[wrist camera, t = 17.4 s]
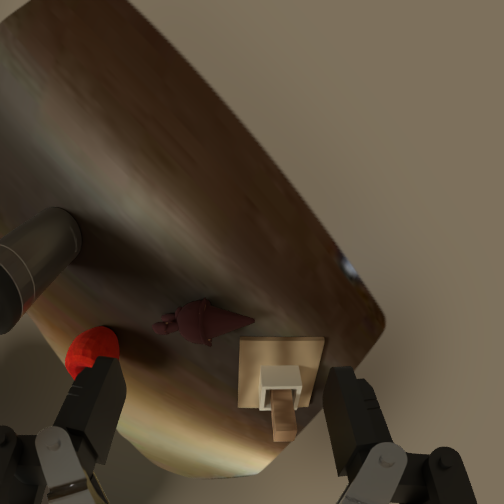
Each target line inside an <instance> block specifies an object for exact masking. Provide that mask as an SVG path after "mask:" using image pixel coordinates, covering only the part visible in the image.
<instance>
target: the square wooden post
mask: <svg viewBox="0 0 504 504" xmlns="http://www.w3.org/2000/svg"><path fill="white" fill-rule="evenodd" d="M270 401H271V413H272V425H273V437H274V442H280V441H294V440H295V436H296V433H297V426H296V419H295V412H294V405H293V399H292V392H291V389H270Z"/></svg>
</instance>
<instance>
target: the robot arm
mask: <svg viewBox="0 0 504 504" xmlns="http://www.w3.org/2000/svg"><path fill="white" fill-rule="evenodd" d="M81 245H82V236H81V232H80V229H79V226H78V224H77V223H76V221H75V219H74V218H73V217H72V216H71V215H70V214H69V213H68V212H66V211H65V210H63V209H61V208H56V207H51V208H47V209H45V210H44V211H42V212H40V213H39V214H37V215H36V216H34V217H32V218H31V219H29V220H28V221H26V222H25V223H23V224H22V225H20V226H19V227H17V228H16V229H14V230H13V231H11V232H10V233H8V234H7V235H5V236H4V237H3V238H1V239H0V335H2V334H5V333H7V332H9V331H10V330H11V329H12V328H13V327H14V326H15V325H16V323H17V322H18V321H19V320H20V318H21V317H22V316H23V315H24V314H25V313H26V311H27V310H28V309H29V308H30V307H31V305H32V304H33V303H34V302H35V301H36V300H37V298H38V297H39V296H40V295H41V294H42V293H43V292H44V291H45V289H46V288H47V287H48V286H49V285H50V284H51V283H52V282H53V281H54V280H55V279H56V277H57V276H58V275H59V274H60V273H61V272H62V271H63V270H64V269H65V268H66V267H67V266H68V265H69V264H70V263H71V262H72V261H73V260H74V259H75V258H76V257H77V255H78V254H79V252H80V249H81ZM125 399H126V383H125V380H124V377H123V373H122V370H121V366H120V363H119V360H118V359H117V358H113V357H106V356H98V357H97V358H96V360H95V362H94V364H93V366H92V368H91V367H85V368H84V369H83V370H82V371H81V372H80V373H79V374H78V375H77V376H76V378H75V380H74V382H73V384H72V387H71V388H70V390H69V392H68V395H67V397H66V399H65V401H64V403H63V405H62V407H61V409H60V411H59V414H58V416H57V418H56V420H55V422H54V424H53V426H50V427H47V428H44V429H43V430H41V431H40V432H39V433H38V435H17V434H16V433H15V432H14V431H13V429H11V428H10V427H8V426H0V504H41V502H42V498H43V494H44V490H45V487H46V485H48V487H49V491H50V493H48V494H47V499H48V502H49V504H110V502H109V500H108V499H107V497H106V495H105V493H104V491H103V489H102V487H101V485H100V483H99V481H98V479H97V477H96V475H95V473H94V471H93V470H94V466H95V463H99V464H103V465H105V463H106V460H107V456H108V453H109V450H110V446H111V443H112V439H113V436H114V433H115V430H116V427H117V424H118V420H119V417H120V414H121V411H122V408H123V405H124V402H125ZM323 409H324V413H325V418H326V422H327V427H328V431H329V435H330V440H331V445H332V449H333V454H334V459H335V464H336V469H337V473H338V477H339V476H348V480H349V483H348V485H347V486H346V488H345V490H344V491H343V493H342V494H341V496H340V498H339V499H338V501H337V502H336V504H389V503H390V502H392V503H399V504H477V501H476V498H475V495H474V492H473V489H472V486H471V483H470V481H469V478H468V475H467V472H466V470H465V467H464V464H463V461H462V459H461V457H460V455H459V453H458V452H457V451H455V450H454V449H452V448H450V447H439V448H437V449H435V450H434V451H433V452H432V453H431V454H430V455H427V454H412V453H407V452H405V451H404V450H403V448H401V447H400V446H398V445H397V444H395V443H394V442H393V440H392V438H391V436H390V433H389V430H388V427H387V424H386V422H385V419H384V416H383V414H382V411H381V409H380V406H379V403H378V401H377V398H376V395H375V393H374V390H373V388H372V387H371V385H369V383H368V382H367V381H366V380H365V379H356V376H355V374H354V371H353V368H352V367H351V366H346V367H332V368H331V369H330V372H329V375H328V379H327V382H326V386H325V389H324V393H323Z"/></svg>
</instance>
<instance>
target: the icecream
mask: <svg viewBox="0 0 504 504" xmlns="http://www.w3.org/2000/svg"><path fill="white" fill-rule="evenodd" d="M161 318H162V321H163V322H157V323H155V324H153V325H152V328H153V330H154V331H155V333H157V334H161V335H166V334H169V333H172V332H175V331H178V330H179V332H180V334H181V335H182V336H183V337H184V338H185V339H186V340H188V341H190V342H192V343H198V344H205V345H208V346H210V347H211V346H212V343H211V342H212V338H214V337H217V336H219V335H222V334H225V333H228V332H231V331H233V330H236V329H239V328H241V327H244V326H247V325H250V324H252V323H254V322H255V319H253V318H250V317H247V316H243V315H240V314H237V313H233V312H230V311H227V310H224V309H220V308H217V307H214V306H211V304H210V301H209V300H207V299H206V298H205V297H204V299H203V300H202V301H201V300H197V301H192V302H190V303H188V304H186V305H185V306H184V307H178V308H177V310H176V311H175V314H174V313H170V314H165V315H162V317H161Z"/></svg>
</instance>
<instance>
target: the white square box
mask: <svg viewBox="0 0 504 504" xmlns="http://www.w3.org/2000/svg"><path fill="white" fill-rule="evenodd" d="M270 389H291V392H292V399H293V405H294V410H297V407H298V403H299V398H300V394H301V390H302V381H301V376H300V370H299V365H281V366H267V365H261V368H260V379H259V410H271V401H270Z"/></svg>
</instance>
